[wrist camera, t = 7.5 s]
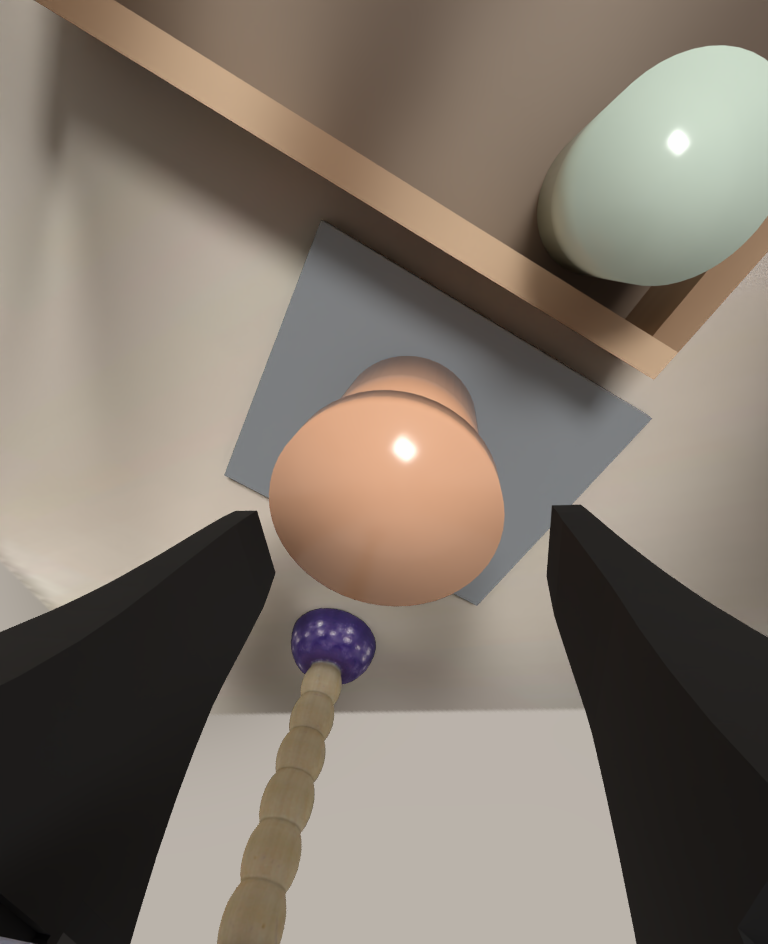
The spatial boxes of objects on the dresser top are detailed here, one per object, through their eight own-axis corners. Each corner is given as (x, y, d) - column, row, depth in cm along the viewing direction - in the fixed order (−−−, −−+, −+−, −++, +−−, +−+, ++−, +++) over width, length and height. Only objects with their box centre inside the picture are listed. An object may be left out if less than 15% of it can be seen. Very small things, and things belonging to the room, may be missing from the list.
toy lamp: (312, 586, 20) (-87, 1535, 5) (402, 625, 20) (266, 1623, 5) (283, 647, 22) (-48, 1423, 7) (365, 681, 22) (199, 1491, 8)
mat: (647, 414, 14) (651, 418, 14) (476, 599, 19) (477, 605, 18) (324, 220, 13) (320, 219, 12) (228, 470, 17) (224, 475, 17)
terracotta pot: (484, 338, 13) (506, 394, 8) (486, 488, 16) (503, 608, 10) (320, 354, 14) (242, 413, 9) (345, 493, 17) (295, 604, 11)
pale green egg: (717, 162, 11) (850, 120, 7) (615, 299, 12) (680, 319, 9) (598, 83, 10) (675, -6, 7) (510, 235, 12) (534, 228, 8)
